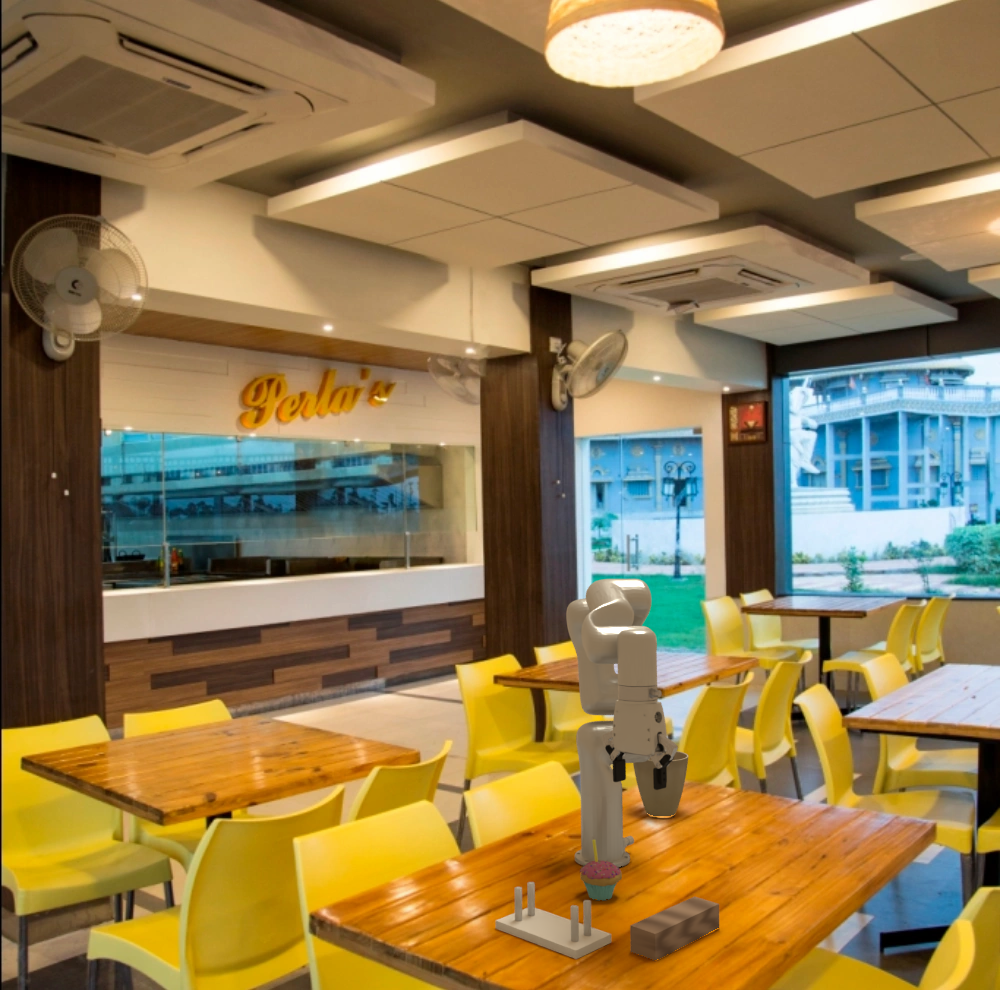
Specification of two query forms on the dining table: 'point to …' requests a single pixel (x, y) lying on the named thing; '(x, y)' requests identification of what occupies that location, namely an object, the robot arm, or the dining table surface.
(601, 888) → the cupcake
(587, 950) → the peg stand
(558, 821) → the dining table surface
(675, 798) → the plant pot
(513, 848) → the dining table surface
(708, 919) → the wooden block
